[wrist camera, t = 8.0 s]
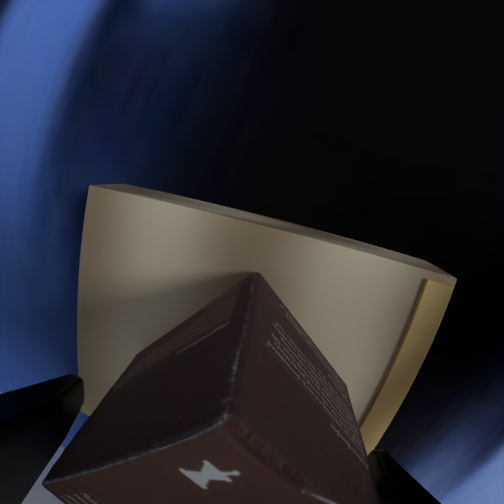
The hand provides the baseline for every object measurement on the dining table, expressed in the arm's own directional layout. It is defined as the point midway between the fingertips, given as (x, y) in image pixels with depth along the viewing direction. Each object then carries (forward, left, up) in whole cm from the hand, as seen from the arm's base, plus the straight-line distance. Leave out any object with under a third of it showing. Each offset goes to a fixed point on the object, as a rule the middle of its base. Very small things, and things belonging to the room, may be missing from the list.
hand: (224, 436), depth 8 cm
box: (0, 0, -4) cm, 4 cm away
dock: (0, 0, -7) cm, 7 cm away
